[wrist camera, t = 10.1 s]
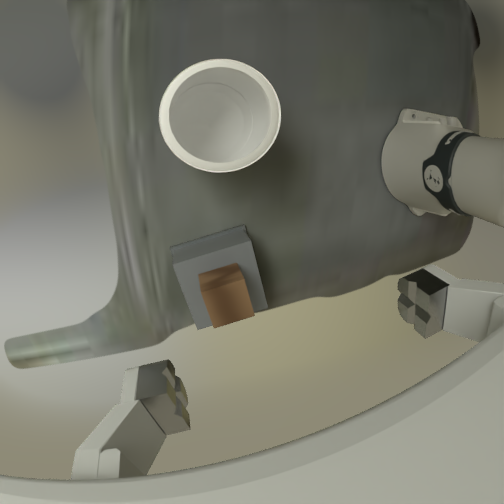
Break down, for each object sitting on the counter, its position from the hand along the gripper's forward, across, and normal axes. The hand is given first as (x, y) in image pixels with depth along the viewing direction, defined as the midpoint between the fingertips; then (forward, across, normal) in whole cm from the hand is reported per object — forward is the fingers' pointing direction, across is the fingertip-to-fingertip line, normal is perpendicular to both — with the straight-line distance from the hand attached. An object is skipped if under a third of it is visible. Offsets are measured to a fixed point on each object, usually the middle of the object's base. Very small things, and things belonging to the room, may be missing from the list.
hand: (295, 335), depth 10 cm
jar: (+34, -2, -8) cm, 35 cm away
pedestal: (+34, +2, +12) cm, 36 cm away
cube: (+28, +2, +12) cm, 30 cm away
